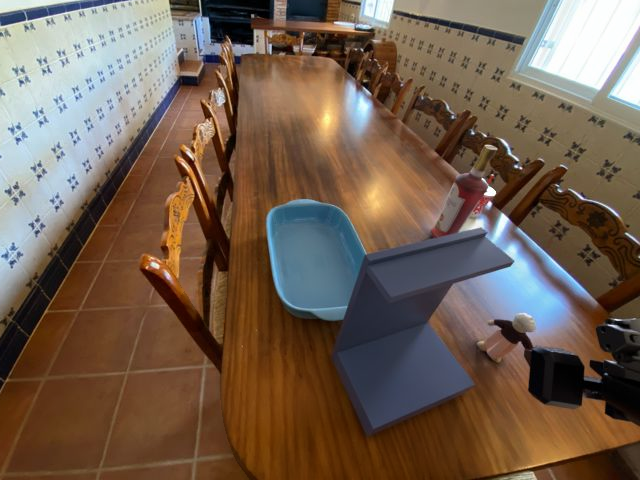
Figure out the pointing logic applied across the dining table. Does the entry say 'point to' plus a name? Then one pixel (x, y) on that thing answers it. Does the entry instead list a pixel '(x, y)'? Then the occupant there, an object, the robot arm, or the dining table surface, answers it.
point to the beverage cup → (483, 200)
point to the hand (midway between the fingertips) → (557, 358)
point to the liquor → (464, 196)
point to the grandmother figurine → (508, 336)
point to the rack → (407, 327)
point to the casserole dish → (313, 258)
